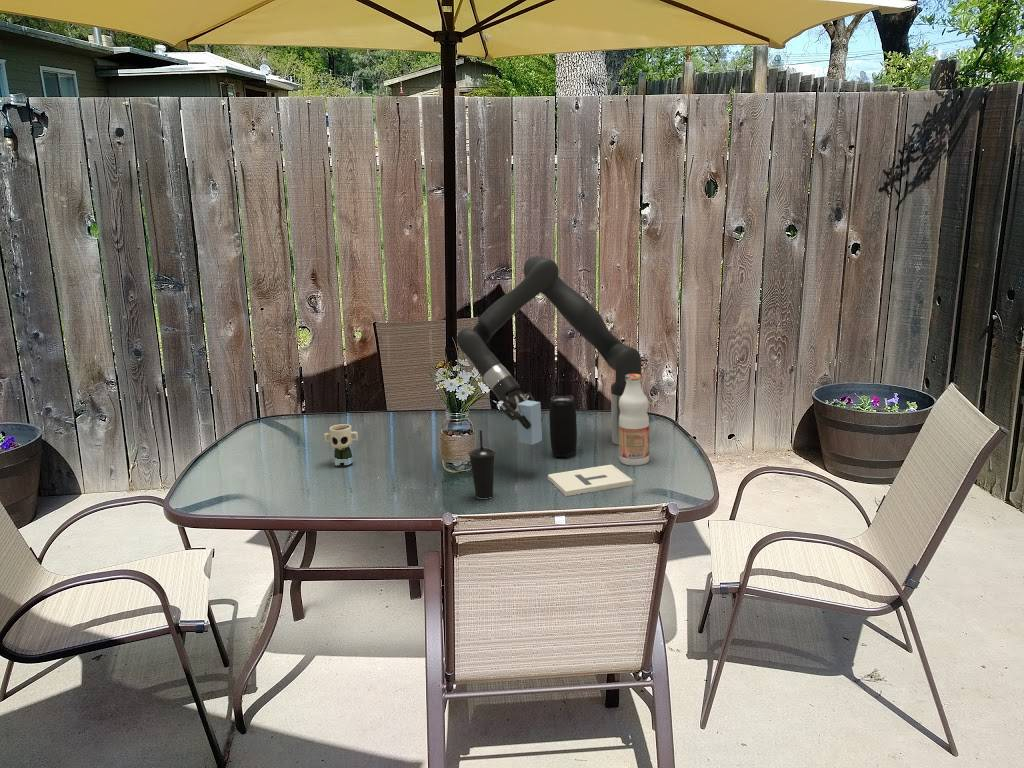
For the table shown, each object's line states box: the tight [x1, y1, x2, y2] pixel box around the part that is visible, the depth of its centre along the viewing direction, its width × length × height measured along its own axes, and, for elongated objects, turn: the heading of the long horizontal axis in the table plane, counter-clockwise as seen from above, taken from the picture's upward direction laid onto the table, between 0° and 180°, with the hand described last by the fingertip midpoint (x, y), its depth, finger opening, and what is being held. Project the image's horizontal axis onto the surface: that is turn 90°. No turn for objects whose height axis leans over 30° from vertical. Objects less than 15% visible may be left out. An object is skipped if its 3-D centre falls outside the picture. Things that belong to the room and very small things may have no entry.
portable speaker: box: [549, 394, 578, 459], centre depth 264 cm, size 9×9×20 cm
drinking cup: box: [468, 429, 496, 498], centre depth 232 cm, size 8×8×20 cm
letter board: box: [547, 464, 634, 497], centre depth 242 cm, size 21×15×2 cm
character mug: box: [323, 423, 359, 459], centre depth 266 cm, size 11×7×13 cm, turn 90°
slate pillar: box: [517, 400, 543, 446], centre depth 245 cm, size 5×5×12 cm
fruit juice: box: [618, 374, 650, 466], centre depth 254 cm, size 9×9×28 cm
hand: (534, 425), depth 244 cm, fingers closed on slate pillar, 5 cm apart
